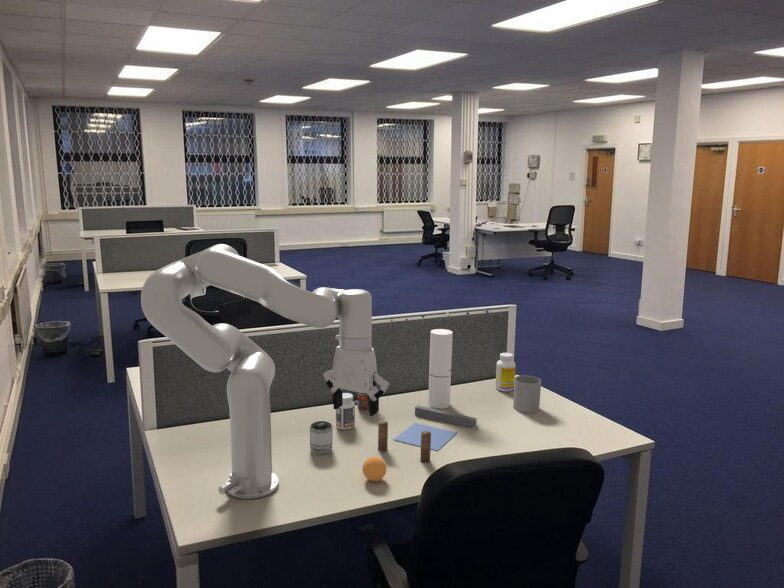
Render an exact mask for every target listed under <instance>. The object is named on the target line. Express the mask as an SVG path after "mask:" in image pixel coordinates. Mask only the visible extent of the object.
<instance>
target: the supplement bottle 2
mask: <svg viewBox="0 0 784 588" xmlns="http://www.w3.org/2000/svg"><path fill="white" fill-rule="evenodd" d="M495 367H496V370H495V389H496V390H498V391H500V392H504V393H505V392H509V393H510V392H514V384H515V378H516V367H517V366H516V363H515V361H514V354H513V353H510V352H502V353H501V352H500V354H499V360H497V362H496V366H495Z"/></svg>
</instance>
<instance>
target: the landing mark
mask: <svg viewBox="0 0 784 588" xmlns="http://www.w3.org/2000/svg"><path fill="white" fill-rule="evenodd" d="M422 431H429V432H431V448H430V451H431V450H432V451H435V452H438V451H440V450H441V449H442V448H443V447H444V446H445V445H446V444H447V443H448V442H449V441H451V439H452V438H454V437H455V435H457V434H458V432H457V431H452V430H448V429H444V428H440V427H435V426H431V425H426V424H423V423H417V422H414V423H412V424H411V425H410V426H408V427H407V428H406V429H405V430H403V431H402V432H401V433H400V434H399V435H397V436H395V437H394V438H393V441H395V442H399V443H404V444H407V445H412V446H415V447H420V448H421V432H422Z"/></svg>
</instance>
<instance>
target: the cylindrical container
mask: <svg viewBox="0 0 784 588" xmlns="http://www.w3.org/2000/svg"><path fill="white" fill-rule="evenodd" d="M453 333H454V332H453V331H452V330H450V329H445V328H437V329H435V328H434V329H431V330H430V336H429V337H430V340H429V342H430V343H429V367H428V368H429V369H428V370H429V371H428V398H427V399H428V400H427V402H428V403H427V405H428V407H429V408H432V409H437V410H441V409H442V410H443V409H447V408H449V407H450V406H451V384H452V383H451V382H452V381H451V380H452V357H453Z"/></svg>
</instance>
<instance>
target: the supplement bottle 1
mask: <svg viewBox="0 0 784 588" xmlns="http://www.w3.org/2000/svg"><path fill="white" fill-rule="evenodd" d="M370 400H371V398H370V397H369V395H368V394H367V393H359V392H357V408H358V410H360V411H364V412H365V411H366V412H369V401H370Z"/></svg>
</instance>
